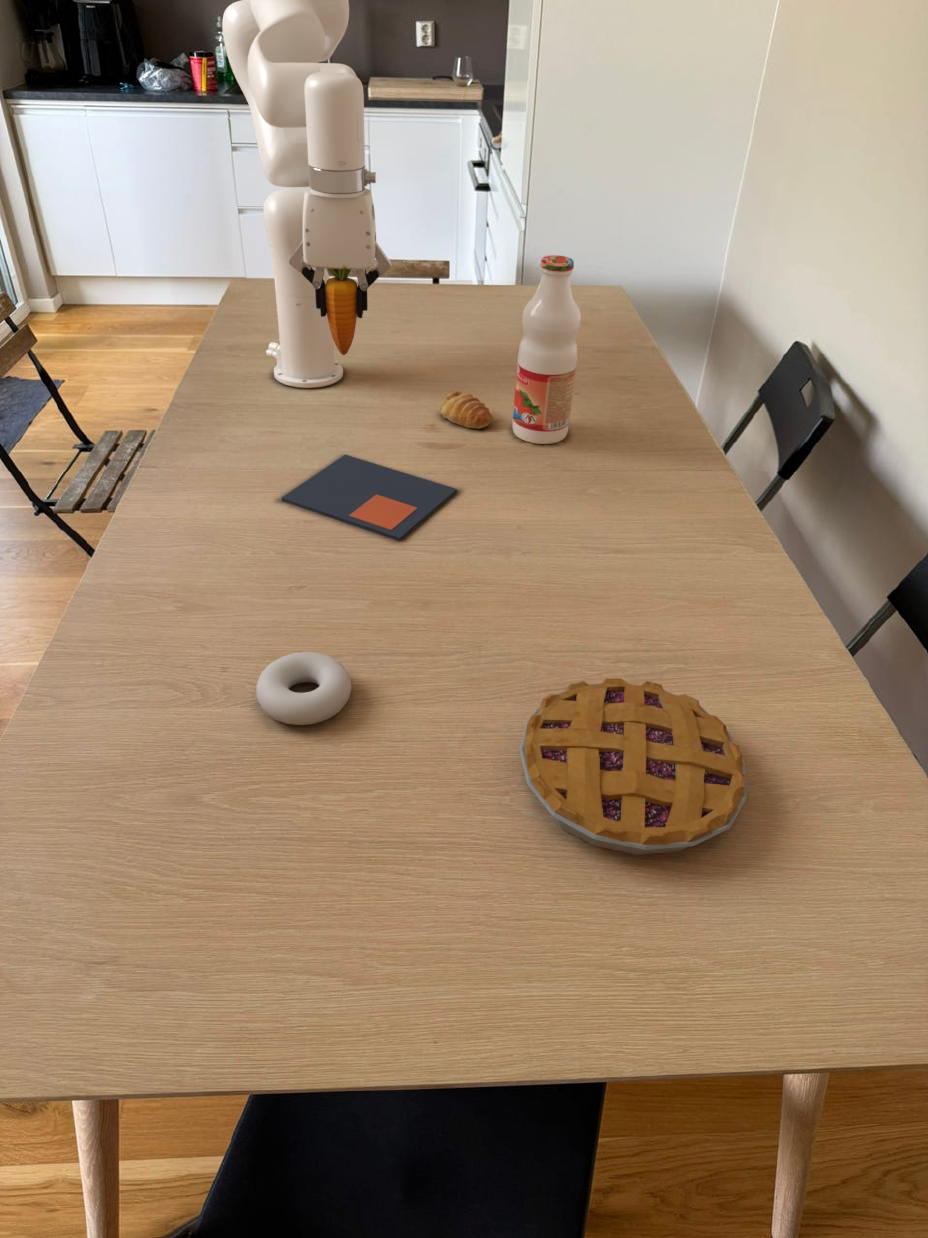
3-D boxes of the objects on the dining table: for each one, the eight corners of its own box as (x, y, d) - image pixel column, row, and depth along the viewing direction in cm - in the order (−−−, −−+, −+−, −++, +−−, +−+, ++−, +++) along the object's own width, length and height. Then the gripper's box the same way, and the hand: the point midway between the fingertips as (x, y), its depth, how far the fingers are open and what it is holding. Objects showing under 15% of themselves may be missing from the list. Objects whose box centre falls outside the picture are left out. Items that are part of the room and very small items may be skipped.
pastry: (501, 423, 151) (502, 402, 149) (473, 435, 147) (474, 414, 145) (462, 405, 156) (463, 385, 154) (434, 416, 152) (434, 395, 150)
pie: (516, 863, 79) (521, 826, 76) (517, 697, 97) (520, 662, 94) (762, 879, 79) (776, 843, 76) (718, 710, 96) (728, 675, 93)
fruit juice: (569, 446, 145) (592, 270, 128) (512, 444, 145) (527, 267, 128) (565, 421, 153) (586, 251, 136) (510, 419, 153) (524, 248, 136)
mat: (281, 500, 128) (281, 496, 127) (345, 457, 139) (345, 453, 139) (399, 540, 121) (399, 537, 120) (456, 491, 132) (457, 488, 132)
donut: (237, 708, 94) (311, 745, 90) (233, 683, 92) (308, 720, 88) (300, 658, 101) (371, 690, 96) (297, 634, 99) (369, 666, 94)
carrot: (365, 351, 137) (363, 250, 127) (351, 363, 133) (348, 259, 124) (336, 346, 138) (331, 245, 128) (321, 357, 134) (316, 254, 125)
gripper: (401, 176, 123) (400, 307, 135) (277, 170, 123) (287, 303, 134) (399, 189, 118) (398, 325, 129) (269, 183, 117) (280, 321, 128)
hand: (342, 312), depth 131 cm, fingers closed on carrot, 4 cm apart
